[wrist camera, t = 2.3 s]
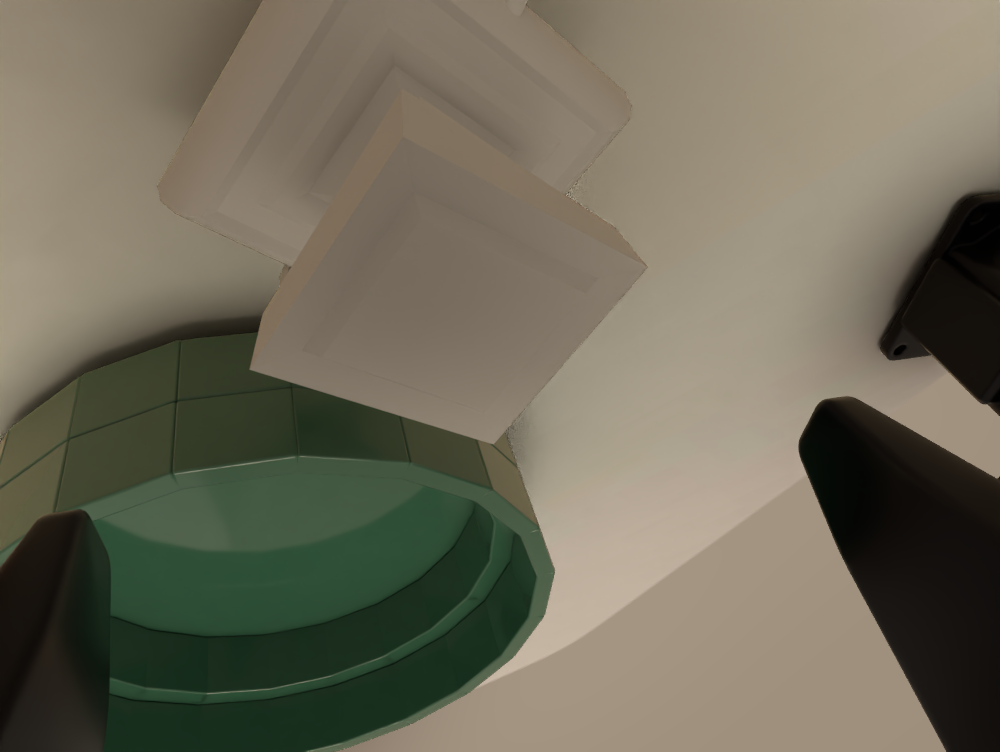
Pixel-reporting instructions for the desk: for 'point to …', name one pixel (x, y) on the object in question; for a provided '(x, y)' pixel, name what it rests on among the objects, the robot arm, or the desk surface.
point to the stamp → (412, 200)
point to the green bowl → (278, 551)
